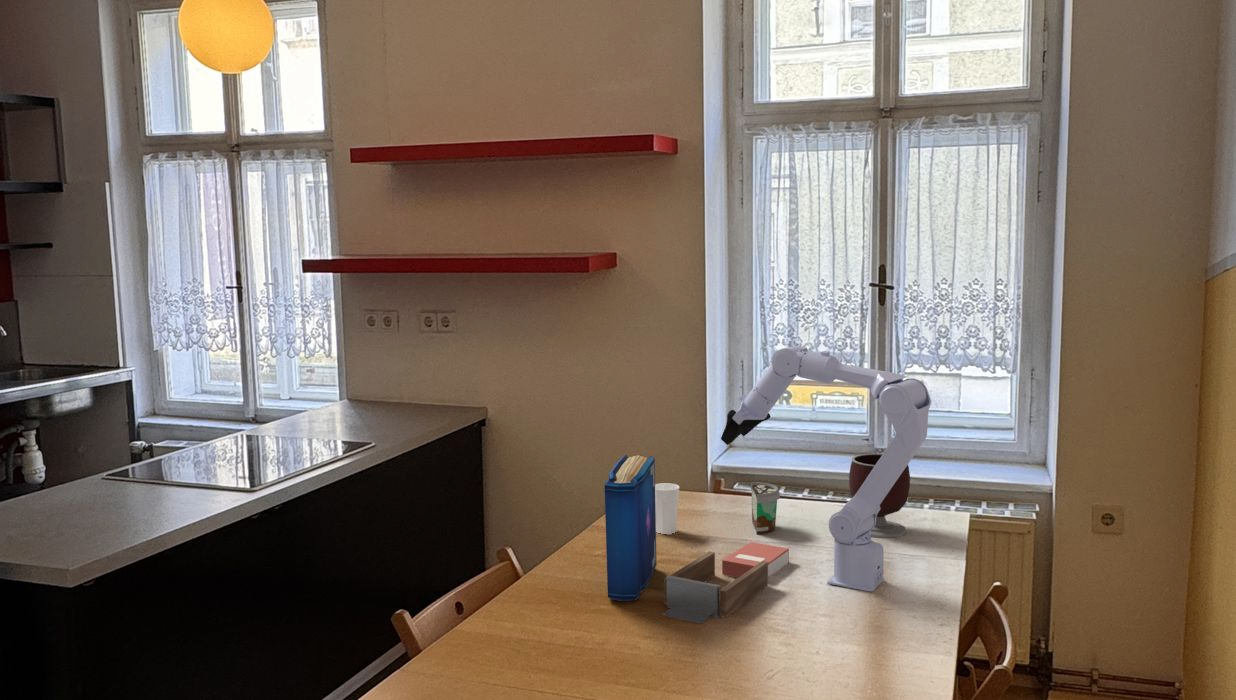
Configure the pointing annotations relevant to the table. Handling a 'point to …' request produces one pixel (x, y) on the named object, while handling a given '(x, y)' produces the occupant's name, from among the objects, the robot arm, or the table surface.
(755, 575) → the brown wooden drawer
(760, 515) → the food container
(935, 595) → the table surface
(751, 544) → the boxed book
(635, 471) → the book
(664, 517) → the cup
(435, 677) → the table surface
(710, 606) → the bookend
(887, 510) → the mate gourd
